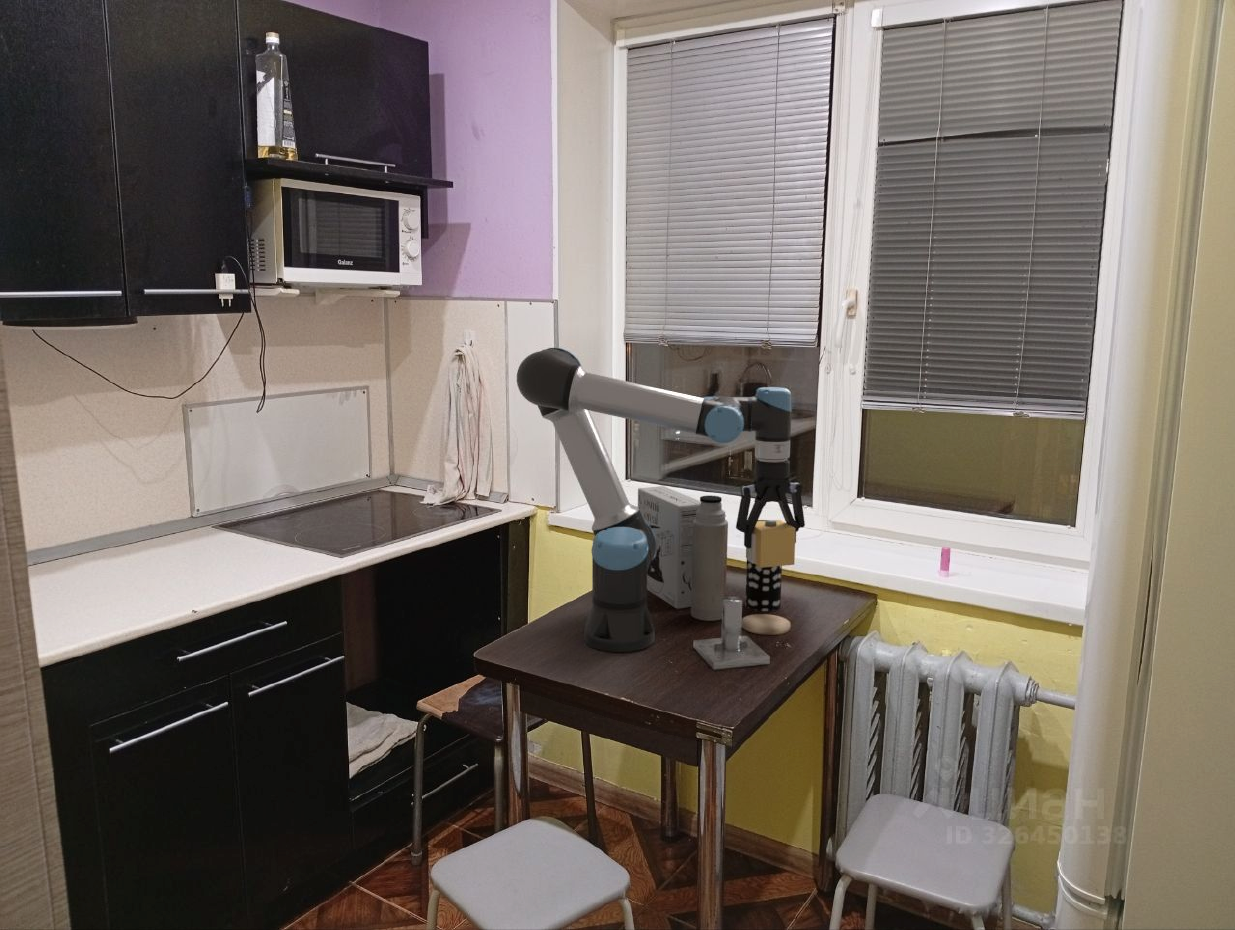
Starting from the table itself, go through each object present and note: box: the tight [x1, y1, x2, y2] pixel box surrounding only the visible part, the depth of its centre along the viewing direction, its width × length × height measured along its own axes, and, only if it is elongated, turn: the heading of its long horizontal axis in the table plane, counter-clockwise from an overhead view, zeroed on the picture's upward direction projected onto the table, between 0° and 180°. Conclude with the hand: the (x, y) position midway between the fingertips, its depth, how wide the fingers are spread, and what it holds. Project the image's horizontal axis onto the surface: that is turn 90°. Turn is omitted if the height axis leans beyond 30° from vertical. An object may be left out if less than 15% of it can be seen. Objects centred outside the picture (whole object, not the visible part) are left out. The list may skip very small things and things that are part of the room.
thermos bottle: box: [690, 495, 729, 622], centre depth 211 cm, size 8×8×28 cm
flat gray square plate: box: [692, 596, 771, 670], centre depth 188 cm, size 12×12×12 cm
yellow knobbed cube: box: [745, 519, 796, 568], centre depth 202 cm, size 8×8×9 cm
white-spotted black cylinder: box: [744, 519, 783, 612], centre depth 218 cm, size 8×8×20 cm
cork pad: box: [741, 613, 792, 636], centre depth 206 cm, size 11×11×1 cm
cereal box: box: [637, 485, 701, 610], centre depth 226 cm, size 22×8×25 cm, turn 25°
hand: (769, 560), depth 203 cm, fingers closed on yellow knobbed cube, 8 cm apart
